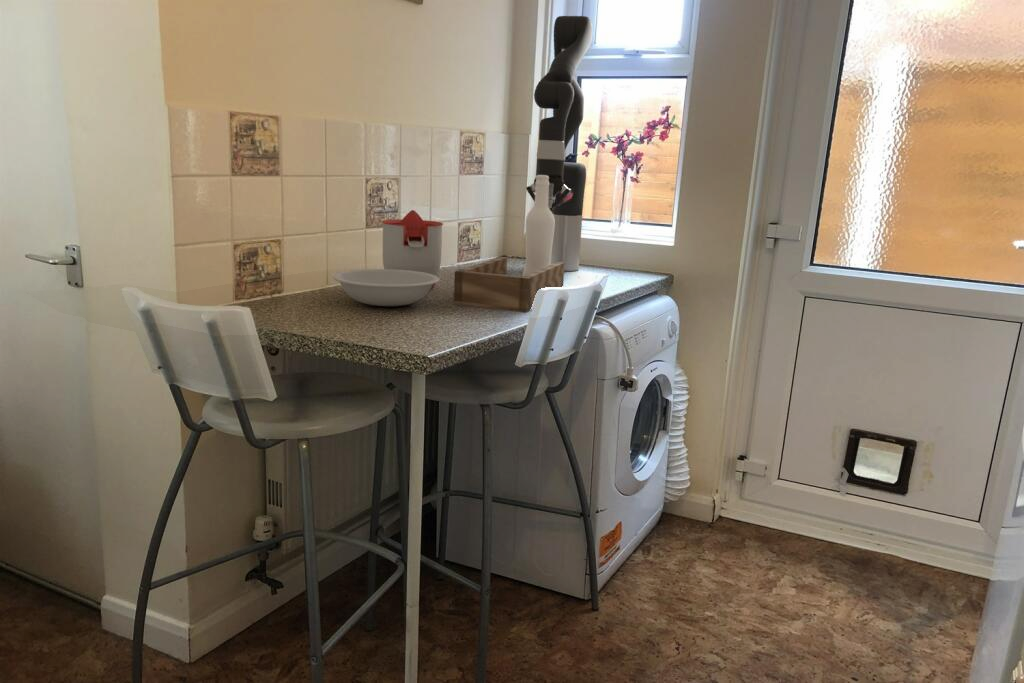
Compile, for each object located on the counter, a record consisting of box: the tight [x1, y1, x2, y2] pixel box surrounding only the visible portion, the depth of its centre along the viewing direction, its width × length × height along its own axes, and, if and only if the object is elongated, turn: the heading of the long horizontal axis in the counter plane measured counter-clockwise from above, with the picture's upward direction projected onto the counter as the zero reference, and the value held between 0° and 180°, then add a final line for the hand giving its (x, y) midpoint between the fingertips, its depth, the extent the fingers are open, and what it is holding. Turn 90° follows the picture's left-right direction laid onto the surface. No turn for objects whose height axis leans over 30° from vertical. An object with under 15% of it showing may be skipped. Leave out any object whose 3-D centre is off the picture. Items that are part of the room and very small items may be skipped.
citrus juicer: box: [381, 209, 444, 289], centre depth 206 cm, size 16×17×20 cm
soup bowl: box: [332, 268, 440, 307], centre depth 184 cm, size 24×24×7 cm
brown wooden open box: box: [453, 256, 565, 313], centre depth 200 cm, size 32×18×8 cm, turn 162°
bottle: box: [522, 175, 555, 277], centre depth 218 cm, size 8×8×30 cm
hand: (546, 221), depth 223 cm, fingers closed
